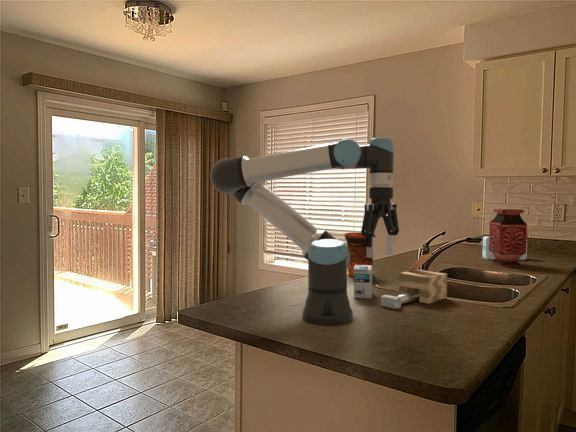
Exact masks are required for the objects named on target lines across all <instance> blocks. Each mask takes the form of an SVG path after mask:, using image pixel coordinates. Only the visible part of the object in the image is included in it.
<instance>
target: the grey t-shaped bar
mask: <svg viewBox="0 0 576 432" xmlns="http://www.w3.org/2000/svg"><path fill="white" fill-rule="evenodd" d="M418 300H419V301H420V293H419V292H418V291H416V292H412V293H408V294H404V295H400V296H399V295H397V296H394V295H390V294H384V295H383V294H382V295H380V306H381V307H385V308H388V309H393V310H397V309H401V308H402V305H404V304H409V303H411V302H416V301H418Z"/></svg>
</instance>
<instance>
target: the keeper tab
mask: <svg viewBox="0 0 576 432" xmlns="http://www.w3.org/2000/svg"><path fill="white" fill-rule="evenodd" d="M431 257H433V256H432V253H429V254H428V253H427V254H423V255H421V256H420V257H418V258H417V259H416V260H415V262H414V263H412V264H411V266H409V267H408V268H407V269H406V272H408V271H413V270H419V268H420V267H421V266H423V265H424V263H426V261H428V260H429V259H430V258H431Z"/></svg>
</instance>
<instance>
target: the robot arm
mask: <svg viewBox="0 0 576 432" xmlns="http://www.w3.org/2000/svg"><path fill="white" fill-rule="evenodd" d="M394 154H395V153H394V140H393V139H392V138H390V137H373V138H370V140H369V143H368V144H362V145H360V144H359V143H358V142H357V141H356V140H353V139H351V138H344V139H341V140H339V141H336V142H332V143H324V144H320V145H314V146H310V147H309V146H308V147H305V148H304V147H303V148H298V149H293V150H287V151H283V152H277V153H273V154H266V155H260V156H257V157H256V156H255V157H251V158H249V157H248V156H245V155H243V156H237V157H228V158H226V157H225V158H222V159H219V160H218V161H216V162H215V163H214V164H213V166H212V168H211V170H210V175H209V178H210V183H211V185H212V187H214V189H215V190H216V191H217V192H219V193H221V194H224V195H230V196H231V197H233V198H234V199H235V200H236V201H237V202H239V204H241V205H248V206H250V207H251V208H253V209H254V210H255V211H256V212H257V213H258V214H260V215H261V216H262V217H263V218H264V219H265V220H267V221H268V222H269V223H270V224H271V225H272V226H274V227H275V228H276V229H277V230H278V231H280V232H281V233H282V234H283V235H284V236H286V237H287V238H288V239H289V240H290V241H291V242H293V243H294V244H295V246H297V247H298V248H300V249H301V251H302V257H303V258H304V259H306V260H307V261H308V264H307V265H308V266H307V268H308V271H307V272H308V273H307V274H308V275H307V277H308V278H307V279H308V280H307V281H308V282H307V283H308V285H307V286H308V292H307V297H306V300H305V305H304V306H303V309H302V320H303V321H305V322H307V323H309V324H314V325H321V326H339V325H344V324H348V323H351V322H352V321H353V319H354V318H353V317H354V315H353V313H354V312H353V309H352V308H351V303H350V299H349V296H348V275H347V274H348V266H349V263H350V252H349V249H348V248H347V242H345V241H343V240H340V239H337V238H336V237H335V236H333V235H332V234H331V233H330V232H329V231H328V230H326V229H321V230H320V229H318V228H316V227H315V226H314V224H312V223H310V222H309V221H308V220H307V219H306V218H305V217H303V216H302V215H301V214H300V213H299V212H298V211H296V210H295V209H294V208H293V207H292V206H291V205H289V204H288V203H287V202H286V201H285V200H283V199H282V198H281V197H279V195H278V194H276V193H275V192H274V191H272V189H270V188H269V187H268V186H267V185H266V184H265V183H266V181H272V180H278V179H283V178H287V177H294V176H299V175H300V176H301V175H304V174H305V175H306V174H310V173H315V172H316V173H317V172H319V171H326V170H332V169H338V170H339V169H340V170H346V169H348V170H352V169H353V170H354V169H356V170H357V169H369V175H368V176H369V177H368V179H369V180H368V182H369V183H368V184H369V188H368V189H369V191H368V193H369V194H368V197H369V199H371V202H370V203H365V204H364V213H363V219H362V226H361V231H360V233H361V235H363V236H364V237H366V247H367V253H366V257H369V258H373V259H375V258H376V257H375V256H376V255H375V254H376V236H375V237H373V235H374V234H375V232H376V228H377V226H378V222H379V220H380V219H381V218H382V219H383V220H382V221H383V223H384V226H385V230H386V232H387V234H386V235H385V255H387V256H395V242H396V241H395V238H396V237H395V236H398V234H399V233H400V228H399V219H398V213H397V203H391V200H392V199H394V188H393V187H392V186H394V156H395V155H394Z"/></svg>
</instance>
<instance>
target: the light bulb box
mask: <svg viewBox="0 0 576 432" xmlns="http://www.w3.org/2000/svg"><path fill="white" fill-rule="evenodd" d="M372 275H373V264H372V265H355V266H354V276H353V298H354V299H369V300H370V299H373V277H372Z"/></svg>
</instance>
